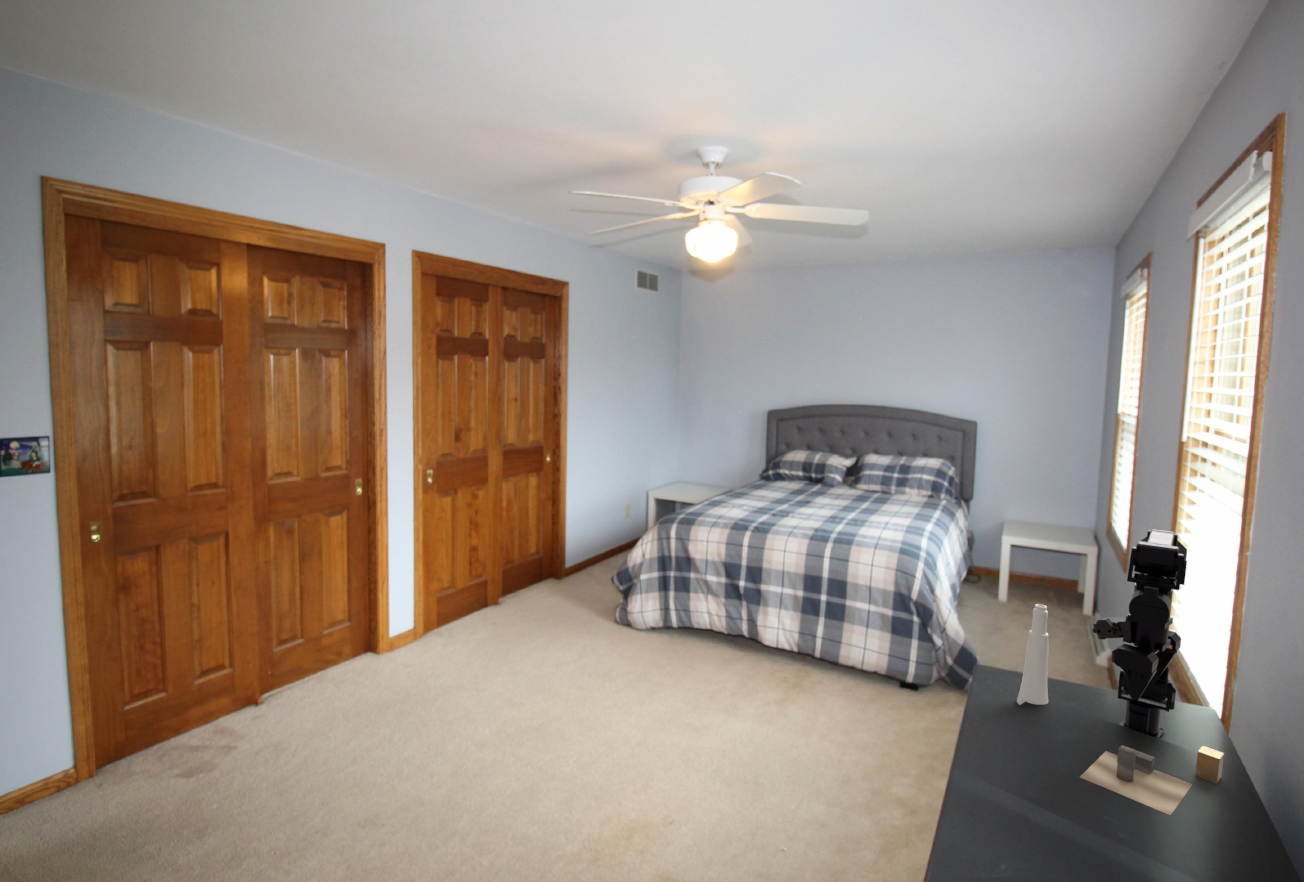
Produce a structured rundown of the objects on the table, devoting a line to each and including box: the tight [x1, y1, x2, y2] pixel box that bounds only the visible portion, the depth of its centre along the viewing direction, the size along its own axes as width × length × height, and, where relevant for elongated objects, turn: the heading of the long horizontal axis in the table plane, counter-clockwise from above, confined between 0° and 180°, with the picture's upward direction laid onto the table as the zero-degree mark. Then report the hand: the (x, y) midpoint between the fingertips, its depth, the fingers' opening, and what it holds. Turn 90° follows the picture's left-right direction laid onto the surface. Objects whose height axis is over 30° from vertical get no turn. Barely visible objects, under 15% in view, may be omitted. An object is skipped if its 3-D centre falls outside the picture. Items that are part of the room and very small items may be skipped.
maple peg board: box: [1079, 744, 1193, 816], centre depth 119 cm, size 13×13×6 cm
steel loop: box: [1194, 745, 1225, 785], centre depth 124 cm, size 7×11×6 cm, turn 40°
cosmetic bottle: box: [1016, 603, 1050, 706], centre depth 148 cm, size 6×6×22 cm
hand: (1142, 692), depth 130 cm, fingers open, 9 cm apart
